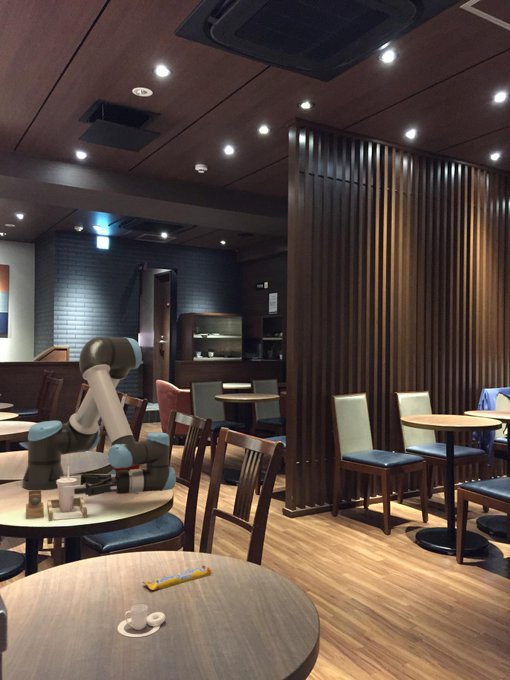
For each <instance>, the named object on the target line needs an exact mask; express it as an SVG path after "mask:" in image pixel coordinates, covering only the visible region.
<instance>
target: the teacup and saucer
mask: <svg viewBox="0 0 510 680" xmlns="http://www.w3.org/2000/svg"><path fill="white" fill-rule="evenodd" d="M127 614H130V618H129V617H128V618H127ZM165 620H166V615H165V613H163V612H161V611H155V612H152V613H150V614H149V615H148V605H146V604H143V603H142V604H141V603H139V604H138V603H137V604H135V605H132V606H131V607H130V610H128V611H127V610H126V612H125V613H124V619H123V620H122V621H121V622H119V624H118V625H117V632H118V633H119V634H120V635H122V636H124V637H128V638H143V637H148V636H151V635H153V634H155V633H157V631H158V630H159V629H160V628H161V625H162V624H163V623H164V622H165ZM127 624H128V625H129V626H131V628H133V629H134V630H136V631H141V630H144V629H145V627H146V624H147V625H148V626H150V627H152V629H151V630H149V631H147V632H144V633H139V634H138V633H135V634H134V633H129V632H127V631H126V630H125V627H126V626H127Z"/></svg>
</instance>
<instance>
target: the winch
mask: <svg viewBox="0 0 510 680" xmlns="http://www.w3.org/2000/svg"><path fill="white" fill-rule="evenodd" d="M44 508H45V507H44V502H42V490H29V491H28V503H25V519H26V520H27V519H39V518H44V510H45V509H44Z"/></svg>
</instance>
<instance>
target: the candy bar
mask: <svg viewBox="0 0 510 680" xmlns="http://www.w3.org/2000/svg"><path fill="white" fill-rule="evenodd" d="M206 568H207V569H206ZM212 572H213V570H211V569H210V568H209V567H206V566H205V565H203V564H202V565H201V567H198V568H194V569H190V570H187V571H183V572H180V573H175V574H171V575H167V576H162V577H158V578H154V579H152V580H151V579H150V580H149V581H147V582H146V581H142V584H143V585H146V586H147V588H148V589H149V590H151V591H155V590H162V589H165V588H169V587H172V586H176V585H179V584H182V583H186V582H190V581H194V580H198V579H201V578H204V577H208V576H210V575H211V574H212Z"/></svg>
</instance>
